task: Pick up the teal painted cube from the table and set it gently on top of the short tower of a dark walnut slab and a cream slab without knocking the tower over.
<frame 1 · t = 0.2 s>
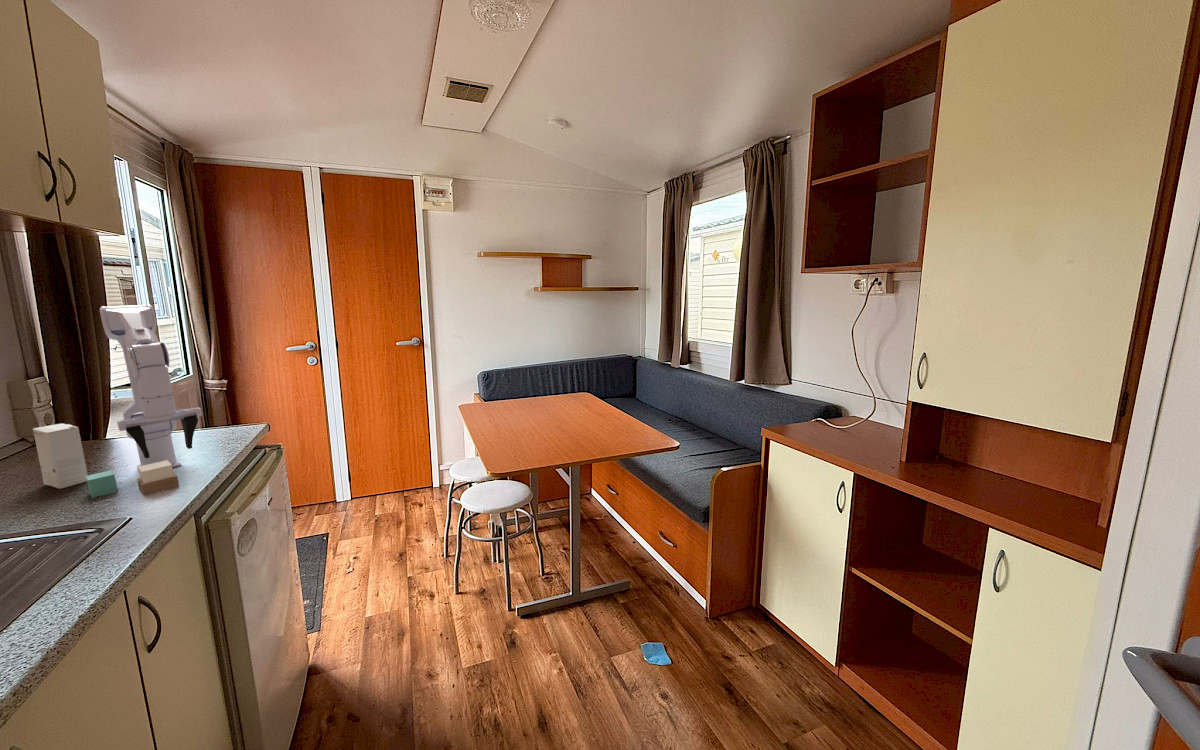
hand: (168, 452, 116), 10 cm above the counter, tool pointing down, fingers open, 7 cm apart
skincare box: (68, 483, 126), on the counter
walnut base slab: (159, 489, 121), on the counter, touching cream middle slab
cream middle slab: (157, 477, 120), point 3 cm above the counter, touching walnut base slab
teal block: (104, 492, 119), on the counter
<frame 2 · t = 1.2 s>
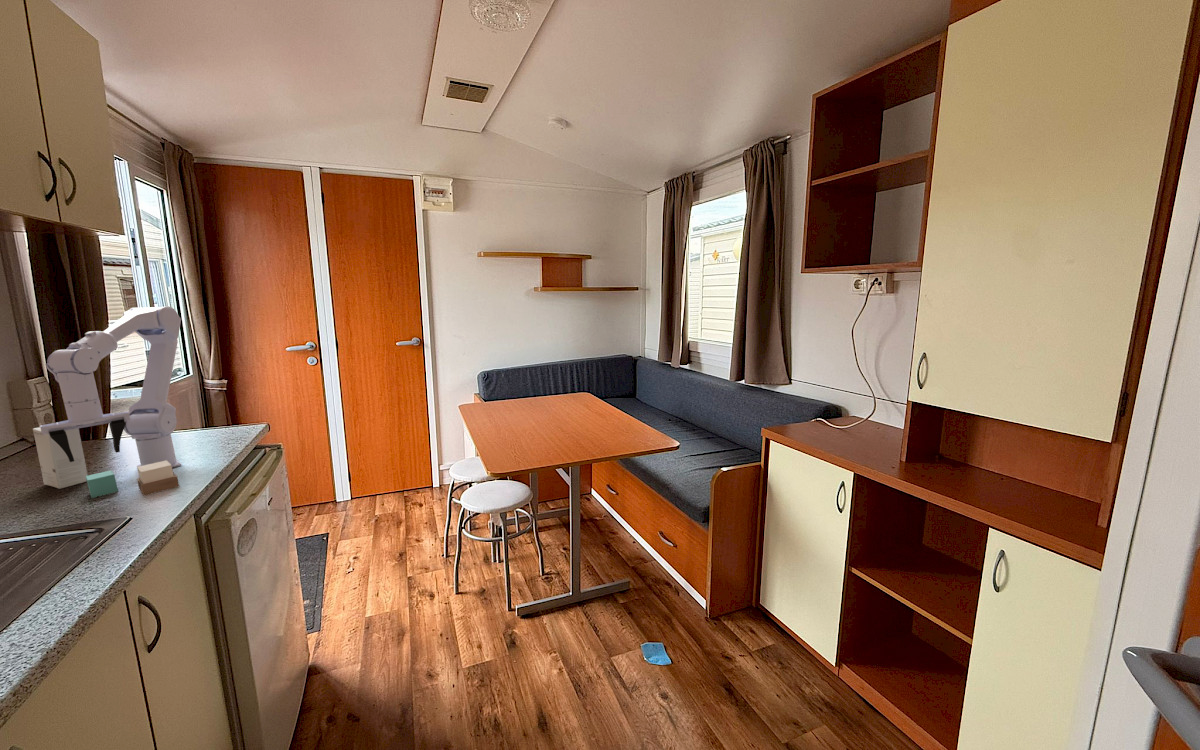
hand: (95, 456, 117), 9 cm above the counter, tool pointing down, fingers open, 7 cm apart
nothing on the counter moved.
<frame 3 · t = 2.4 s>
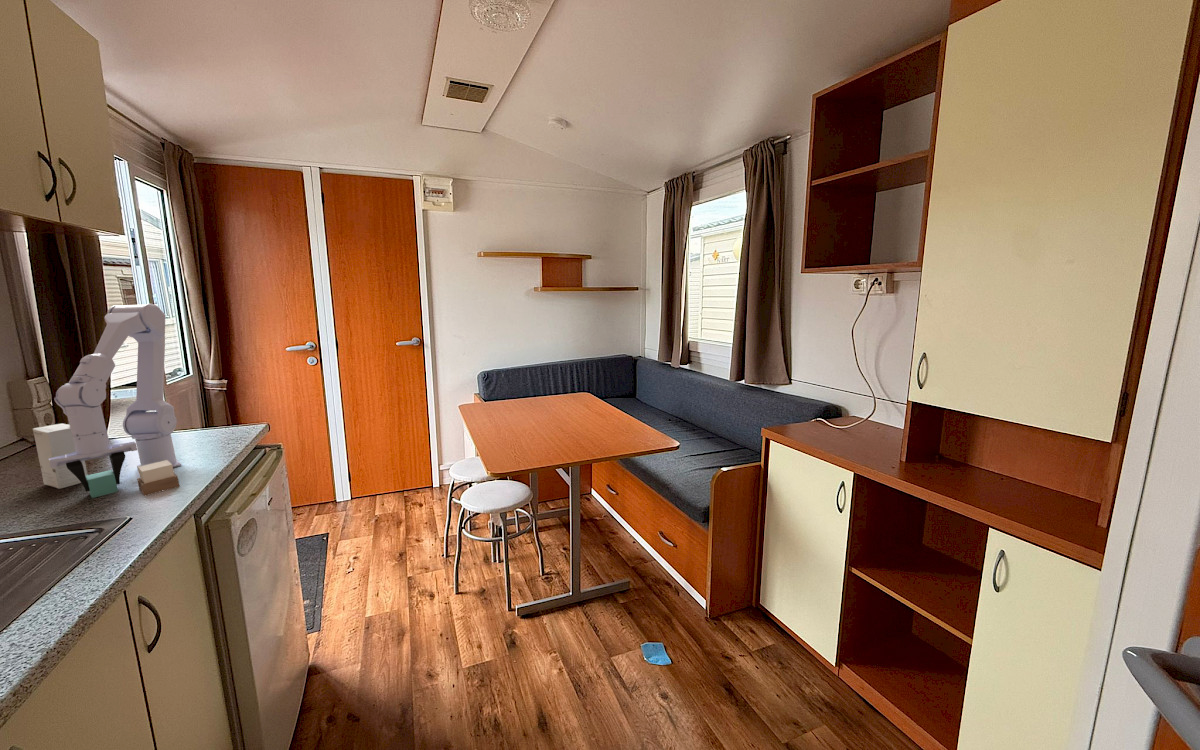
hand: (102, 486, 119), 1 cm above the counter, tool pointing down, fingers closed on teal block, 4 cm apart
teal block: (104, 492, 119), on the counter, touching gripper
everything else where it was.
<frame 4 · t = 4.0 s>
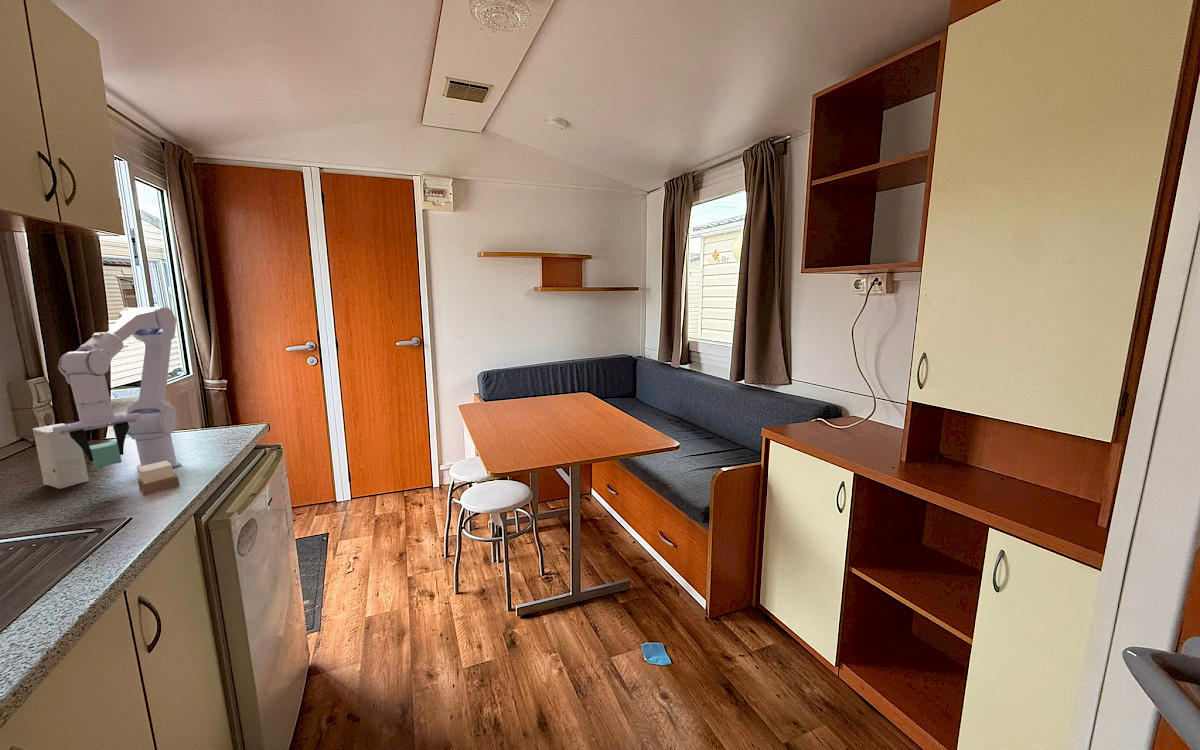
hand: (106, 457, 118), 9 cm above the counter, tool pointing down, fingers closed on teal block, 4 cm apart
teal block: (107, 463, 118), point 7 cm above the counter, touching gripper
everything else where it was.
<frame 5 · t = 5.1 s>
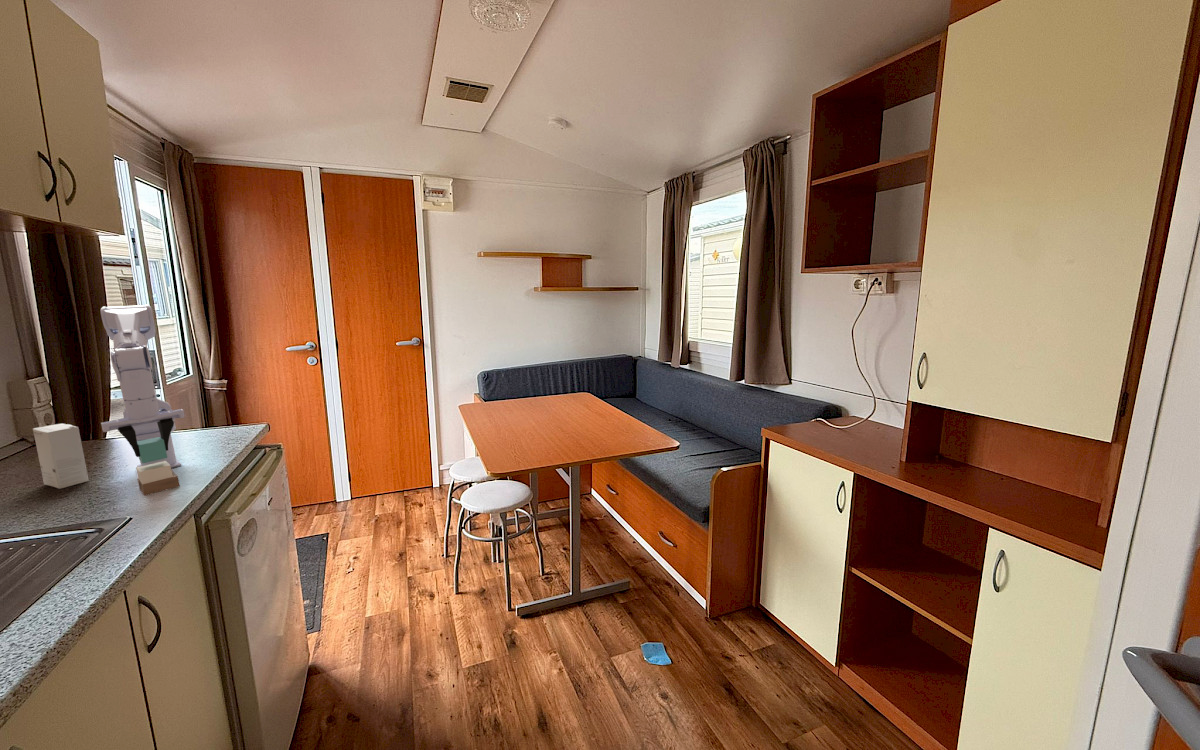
hand: (152, 452, 119), 9 cm above the counter, tool pointing down, fingers closed on teal block, 4 cm apart
teal block: (153, 458, 119), point 7 cm above the counter, touching gripper
everything else where it was.
when the fingers open (9 cm above the counter, at t = 5.3 s): teal block drops 2 cm, resting on cream middle slab.
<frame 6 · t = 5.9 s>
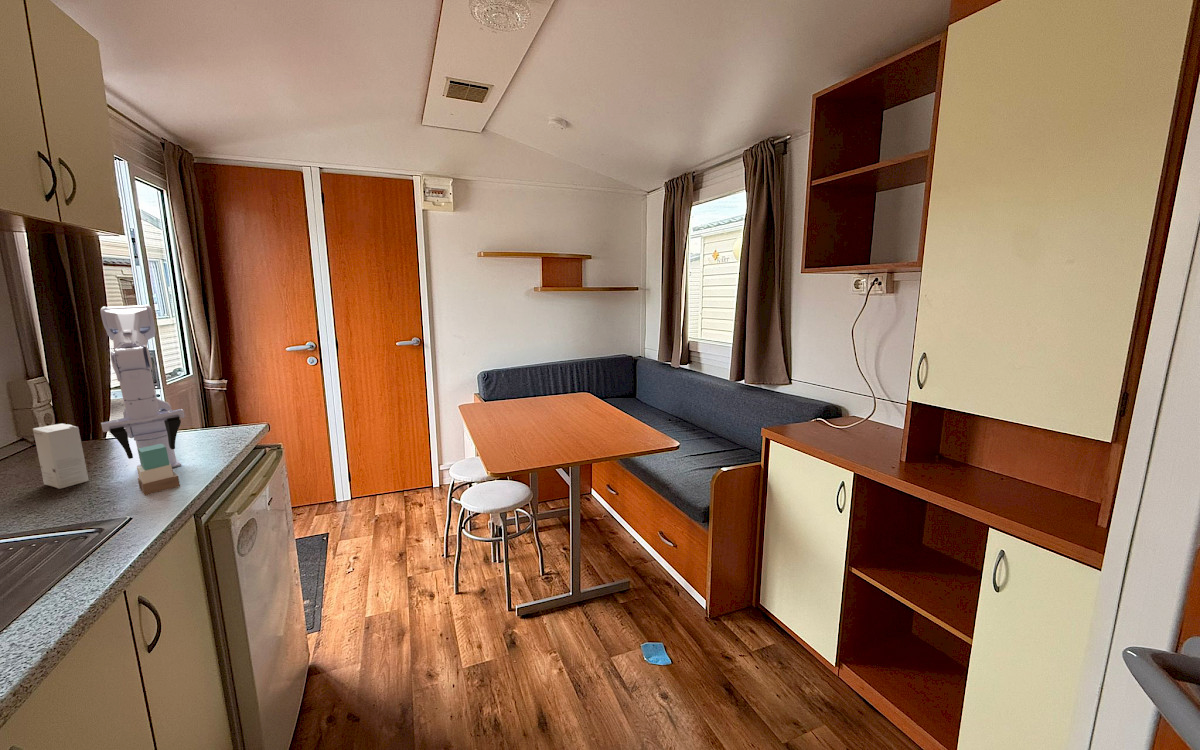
hand: (152, 452, 119), 9 cm above the counter, tool pointing down, fingers open, 7 cm apart
cream middle slab: (156, 477, 120), point 3 cm above the counter, touching teal block, walnut base slab
teal block: (155, 465, 120), point 6 cm above the counter, touching cream middle slab
everything else where it was.
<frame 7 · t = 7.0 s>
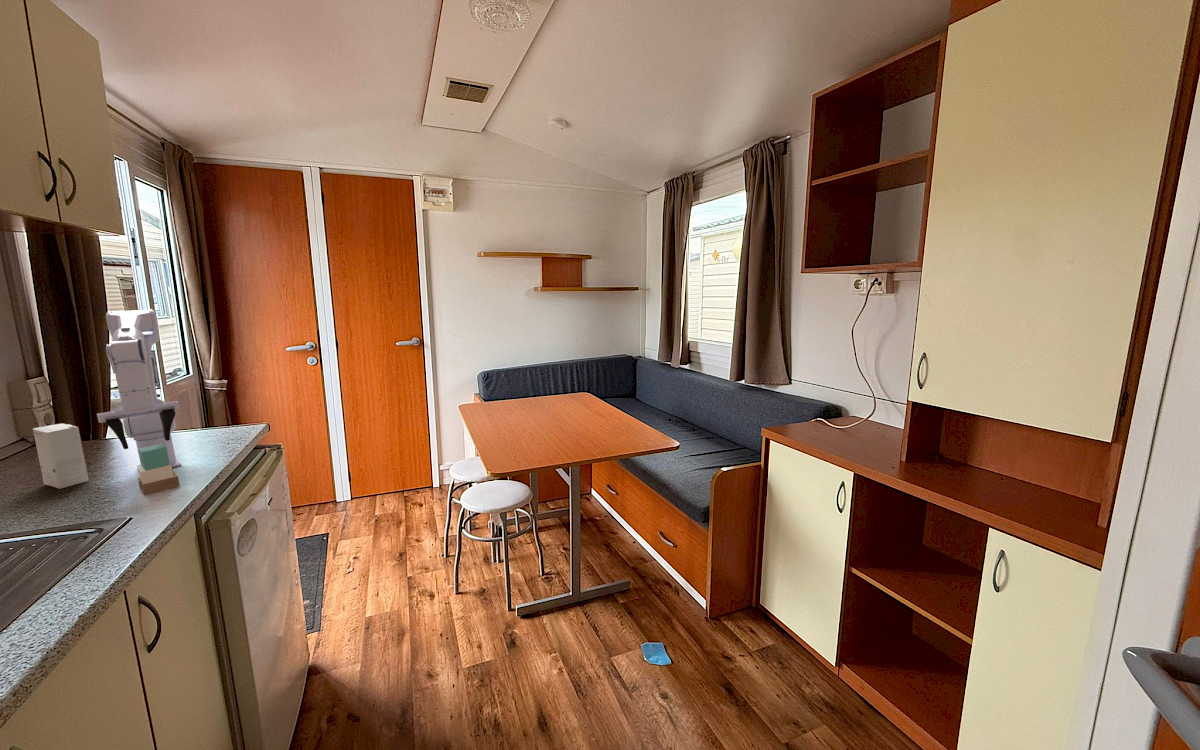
hand: (147, 443, 122), 10 cm above the counter, tool pointing down, fingers open, 7 cm apart
nothing on the counter moved.
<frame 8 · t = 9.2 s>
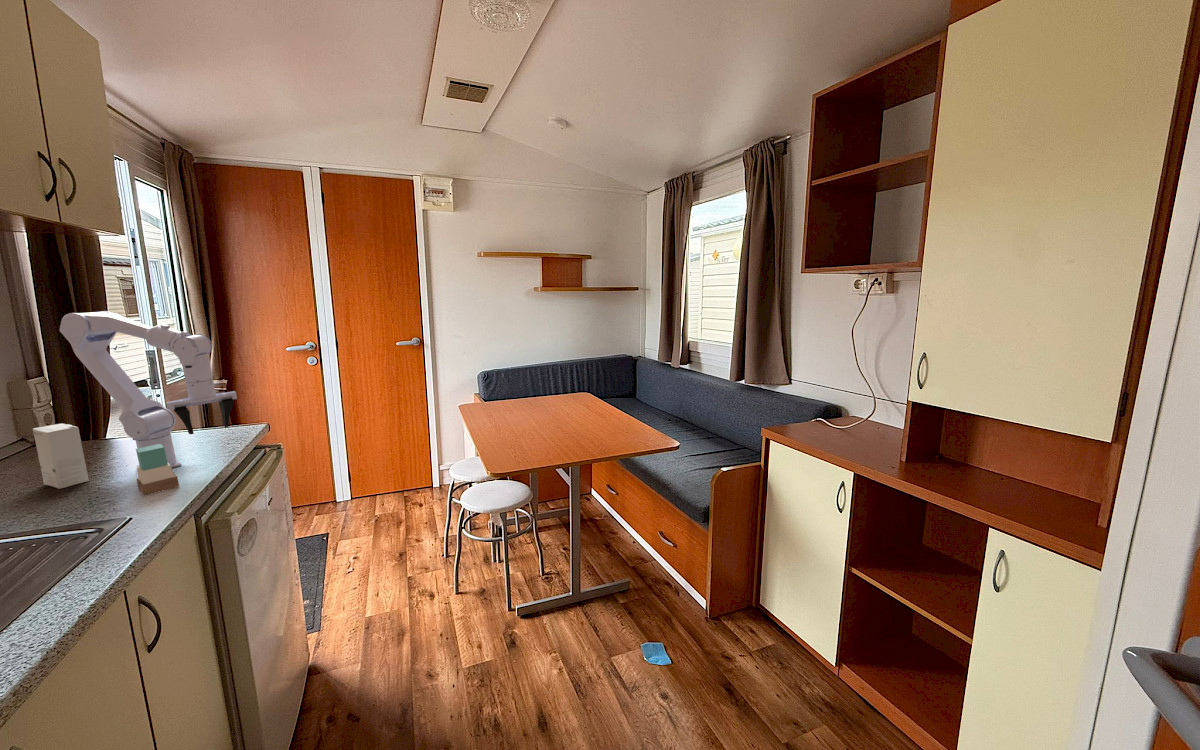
hand: (208, 429, 134), 10 cm above the counter, tool pointing down, fingers open, 7 cm apart
nothing on the counter moved.
at the end: teal block 0.7 cm off-centre on the cream middle slab, point 3.0 cm above the cream middle slab's base; cream middle slab 0.4 cm off-centre on the walnut base slab, point 3.0 cm above the walnut base slab's base; teal block tilted 0° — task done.
